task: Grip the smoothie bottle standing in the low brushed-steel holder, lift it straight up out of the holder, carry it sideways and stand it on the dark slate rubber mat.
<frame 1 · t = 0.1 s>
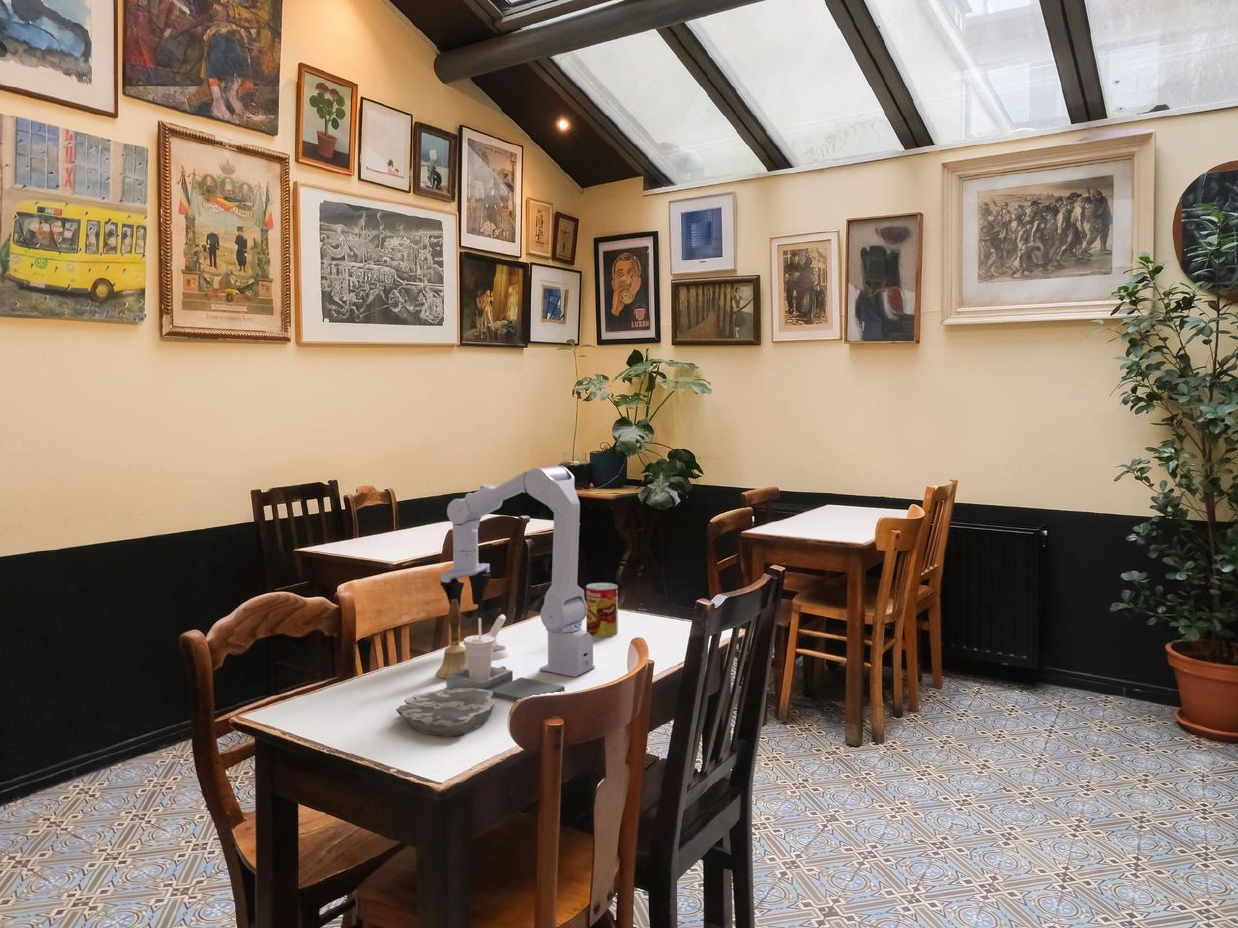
hand: (466, 607, 203), 10 cm above the table, tool pointing down, fingers open, 7 cm apart
holder: (479, 685, 178), on the table
hand bell: (455, 674, 186), on the table
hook: (493, 656, 199), on the table
smoothie: (479, 686, 178), resting in holder
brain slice: (446, 722, 159), on the table
canned food: (602, 633, 218), on the table
mat: (527, 693, 173), on the table
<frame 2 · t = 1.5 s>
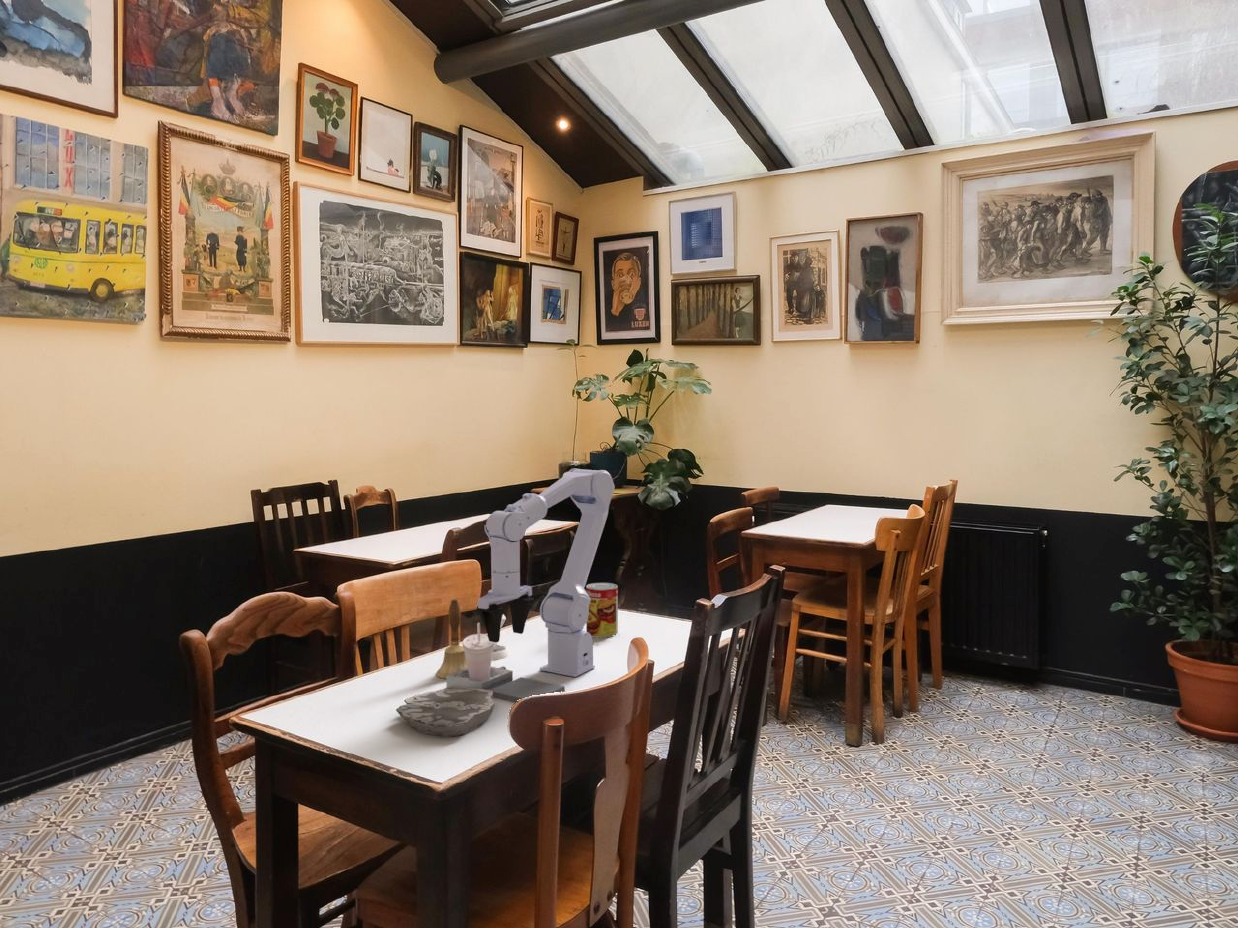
hand: (506, 637, 176), 10 cm above the table, tool pointing down, fingers open, 7 cm apart
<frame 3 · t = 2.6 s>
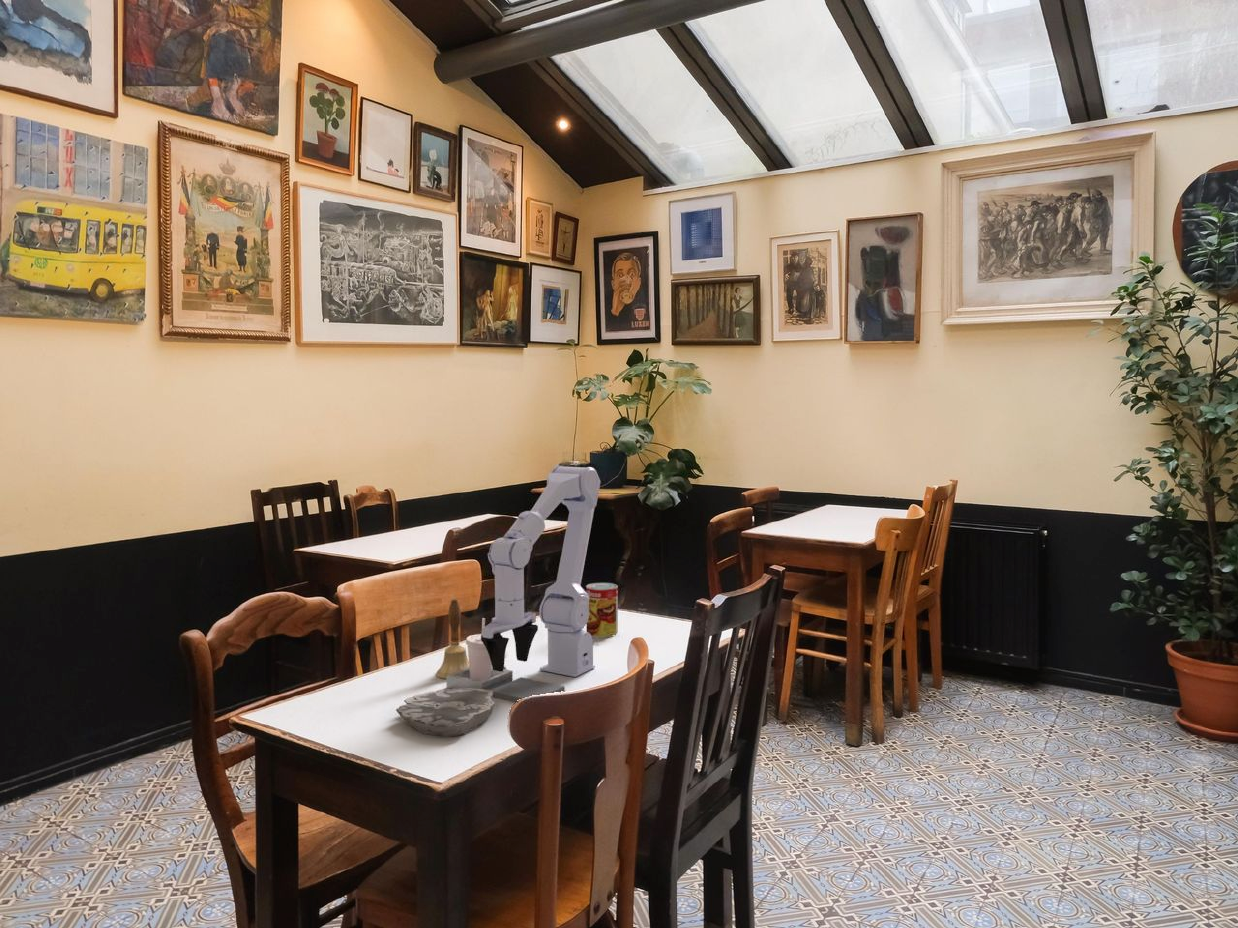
hand: (510, 665, 174), 5 cm above the table, tool pointing down, fingers open, 7 cm apart
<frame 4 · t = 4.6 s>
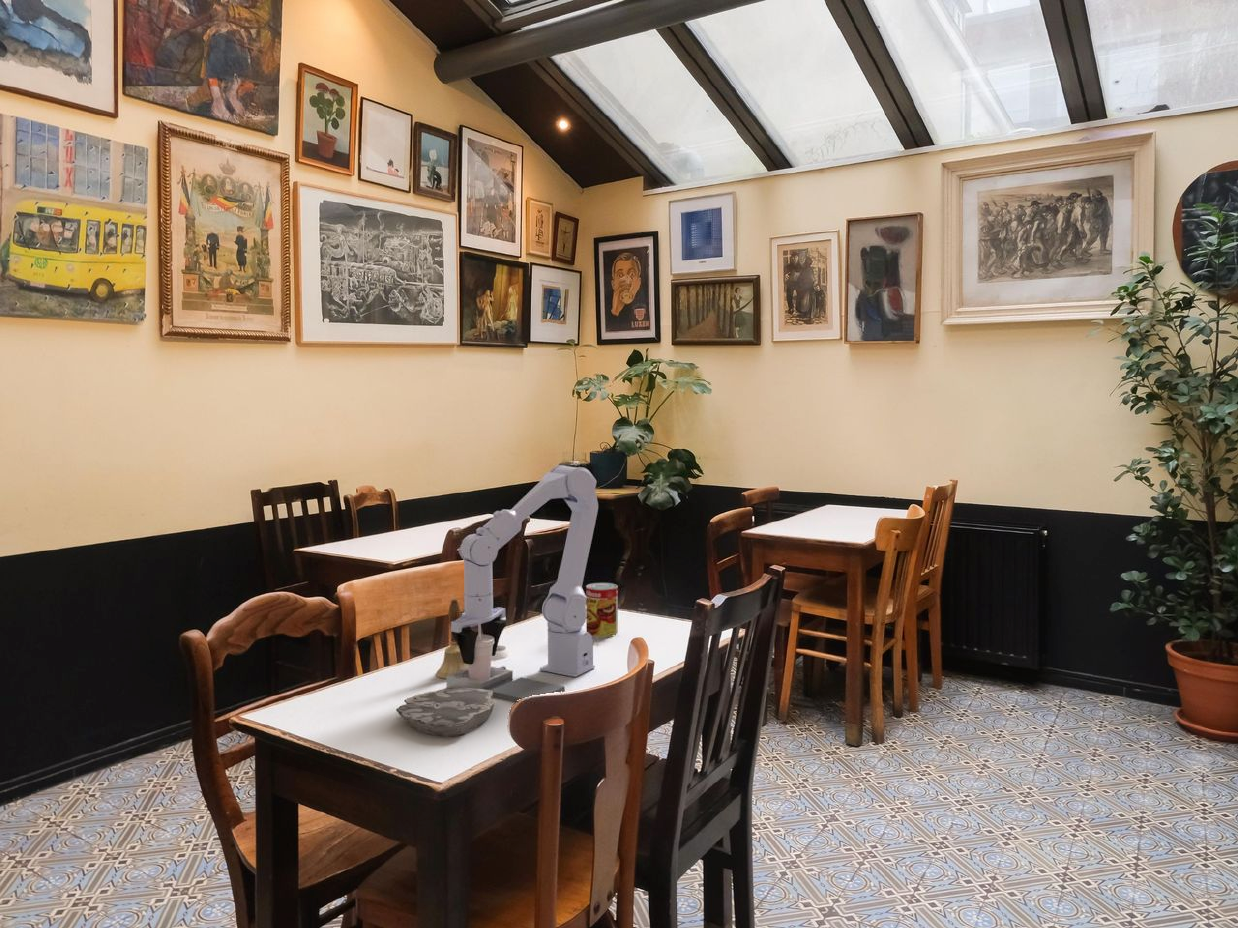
hand: (479, 659, 178), 5 cm above the table, tool pointing down, fingers closed on smoothie, 6 cm apart
smoothie: (479, 685, 178), resting in holder, touching gripper
everything else where it was.
when the fingers open (7 cm above the table, at t = 8.5 s): smoothie stays where it is, resting on mat.
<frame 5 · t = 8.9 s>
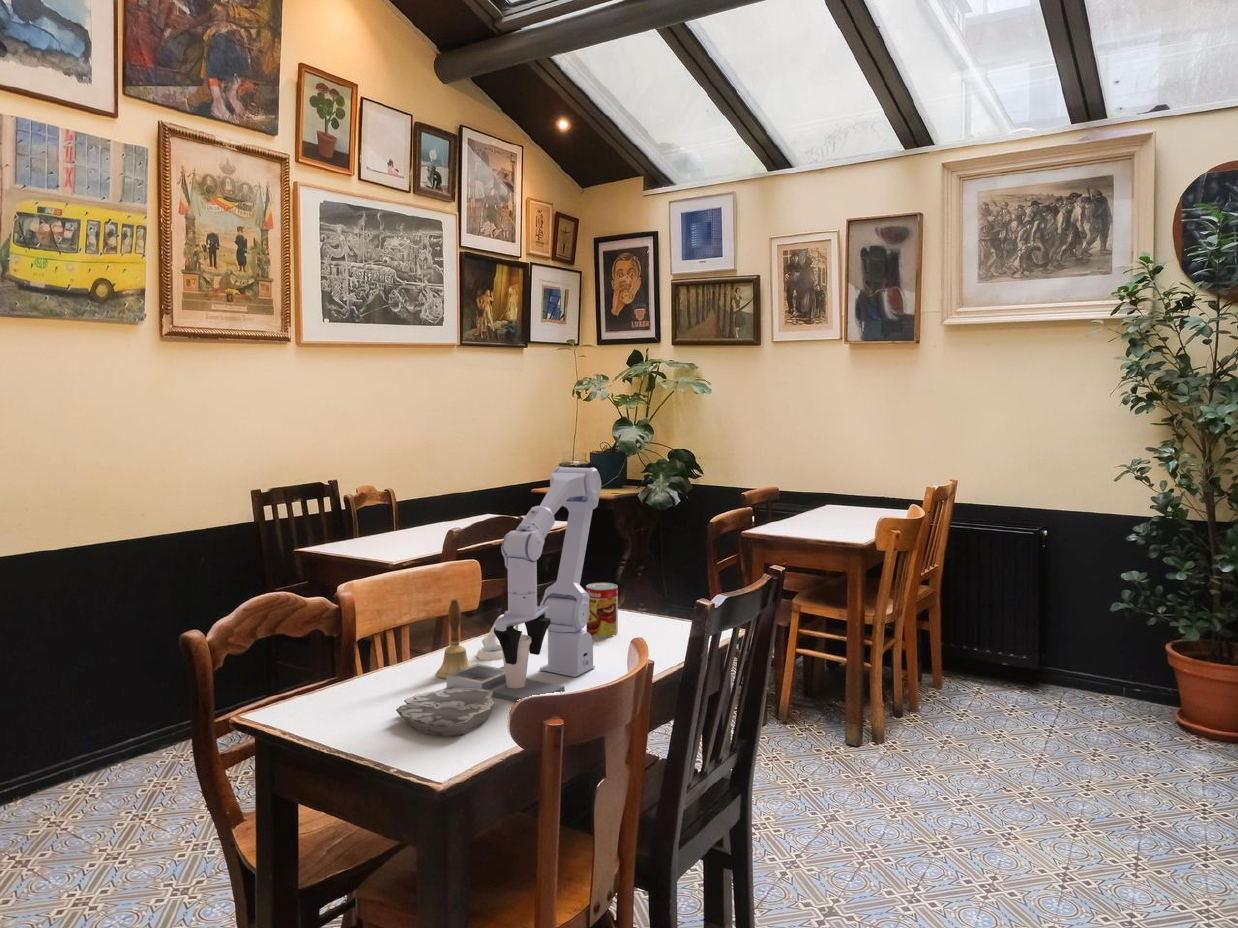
hand: (523, 658, 173), 7 cm above the table, tool pointing down, fingers open, 7 cm apart
smoothie: (515, 686, 175), point 1 cm above the table, touching mat
everything else where it was.
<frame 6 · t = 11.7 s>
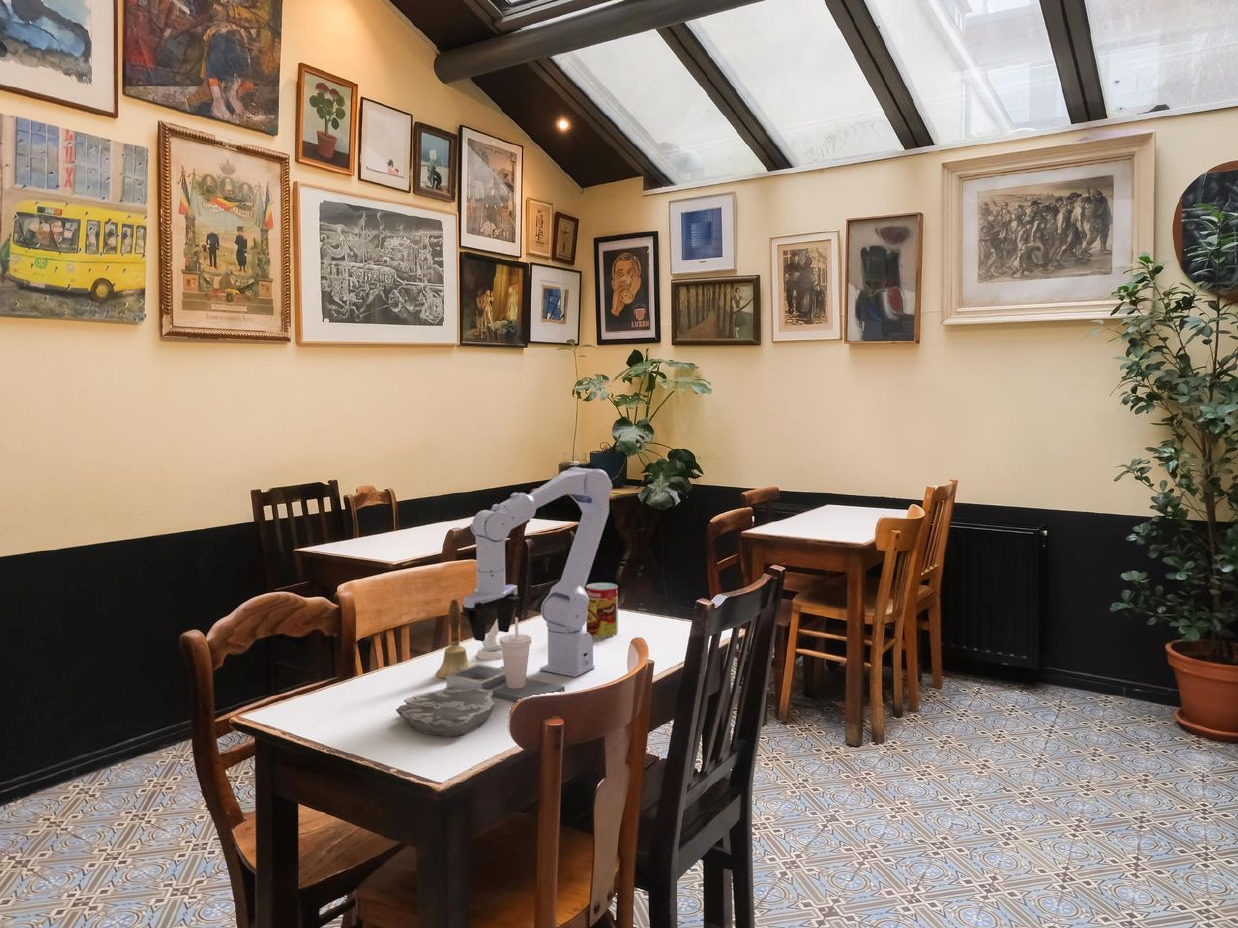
hand: (491, 635, 177), 10 cm above the table, tool pointing down, fingers open, 7 cm apart
nothing on the table moved.
at the end: smoothie inside the target area on the mat (3.1 cm from its centre), point 0.8 cm above the mat's base; smoothie tilted 0°; the gripper is holding nothing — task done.
